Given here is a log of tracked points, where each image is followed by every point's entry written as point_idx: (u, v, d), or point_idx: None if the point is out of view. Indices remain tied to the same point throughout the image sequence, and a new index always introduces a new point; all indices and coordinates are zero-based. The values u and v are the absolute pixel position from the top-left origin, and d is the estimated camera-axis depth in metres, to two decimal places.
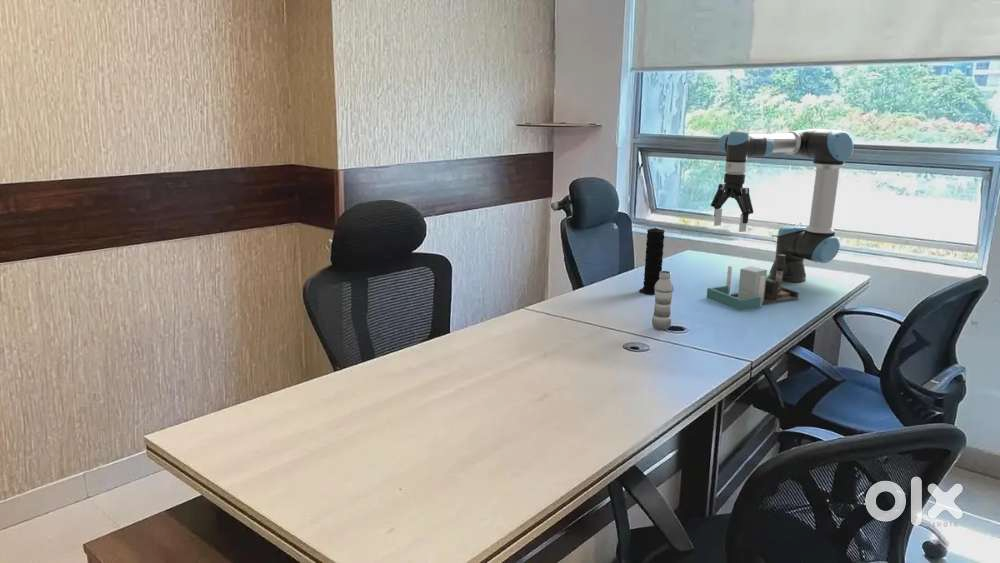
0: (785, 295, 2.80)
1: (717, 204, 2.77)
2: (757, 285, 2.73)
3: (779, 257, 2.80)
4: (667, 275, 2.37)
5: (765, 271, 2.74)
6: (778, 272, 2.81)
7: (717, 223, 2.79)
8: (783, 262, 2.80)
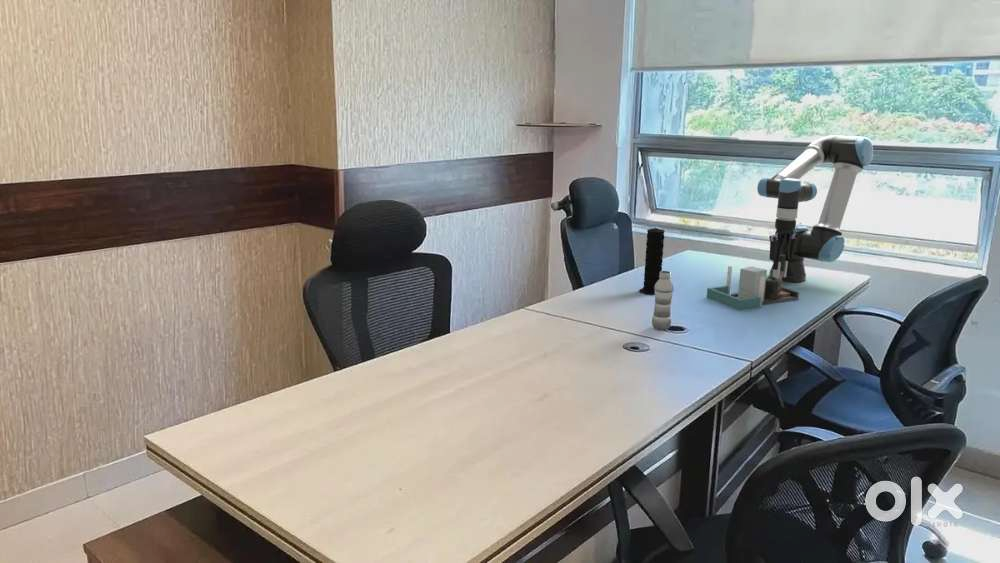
0: (785, 295, 2.80)
1: None
2: (757, 285, 2.73)
3: None
4: (667, 275, 2.37)
5: (765, 271, 2.74)
6: None
7: None
8: (783, 262, 2.80)
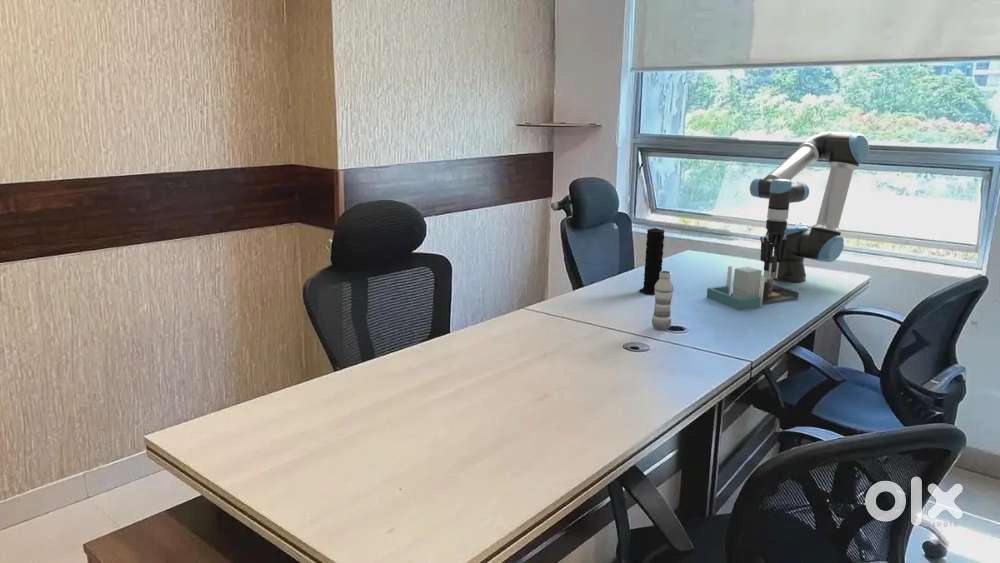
0: (776, 296, 2.78)
1: None
2: (750, 285, 2.72)
3: None
4: (667, 275, 2.37)
5: (759, 272, 2.73)
6: None
7: None
8: (774, 263, 2.78)
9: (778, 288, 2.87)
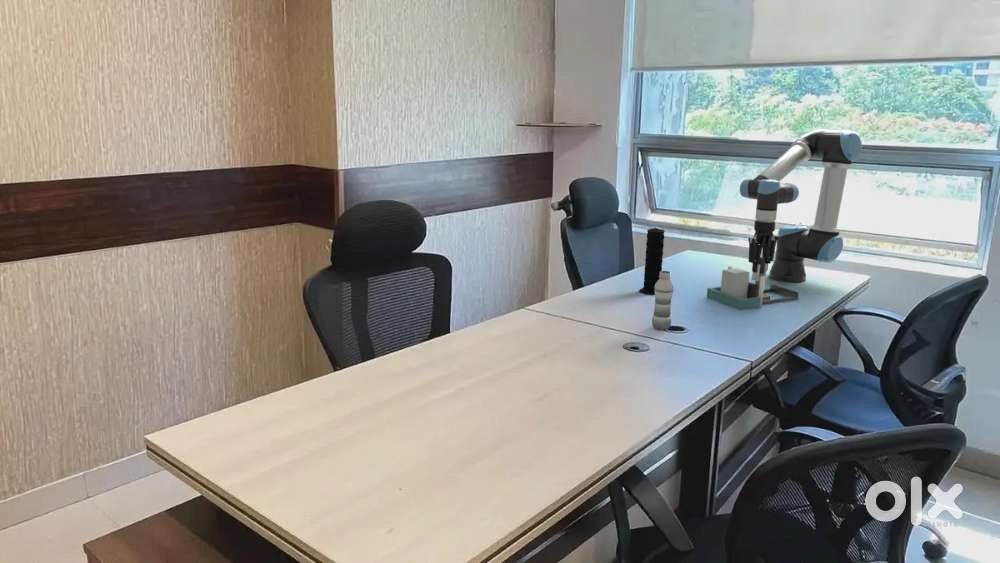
0: (764, 298, 2.76)
1: (763, 256, 2.78)
2: (737, 286, 2.70)
3: None
4: (667, 275, 2.37)
5: (747, 273, 2.71)
6: None
7: None
8: (762, 264, 2.75)
9: (778, 288, 2.87)
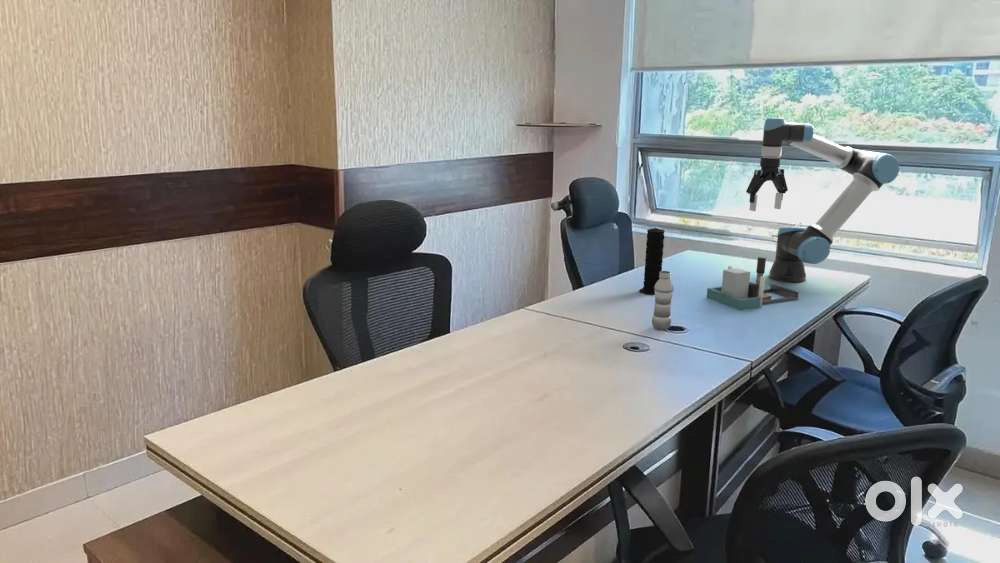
0: (765, 298, 2.76)
1: None
2: (738, 286, 2.70)
3: (759, 259, 2.75)
4: (667, 275, 2.37)
5: (747, 273, 2.71)
6: (758, 275, 2.77)
7: (776, 206, 2.92)
8: (763, 264, 2.75)
9: (778, 288, 2.87)
